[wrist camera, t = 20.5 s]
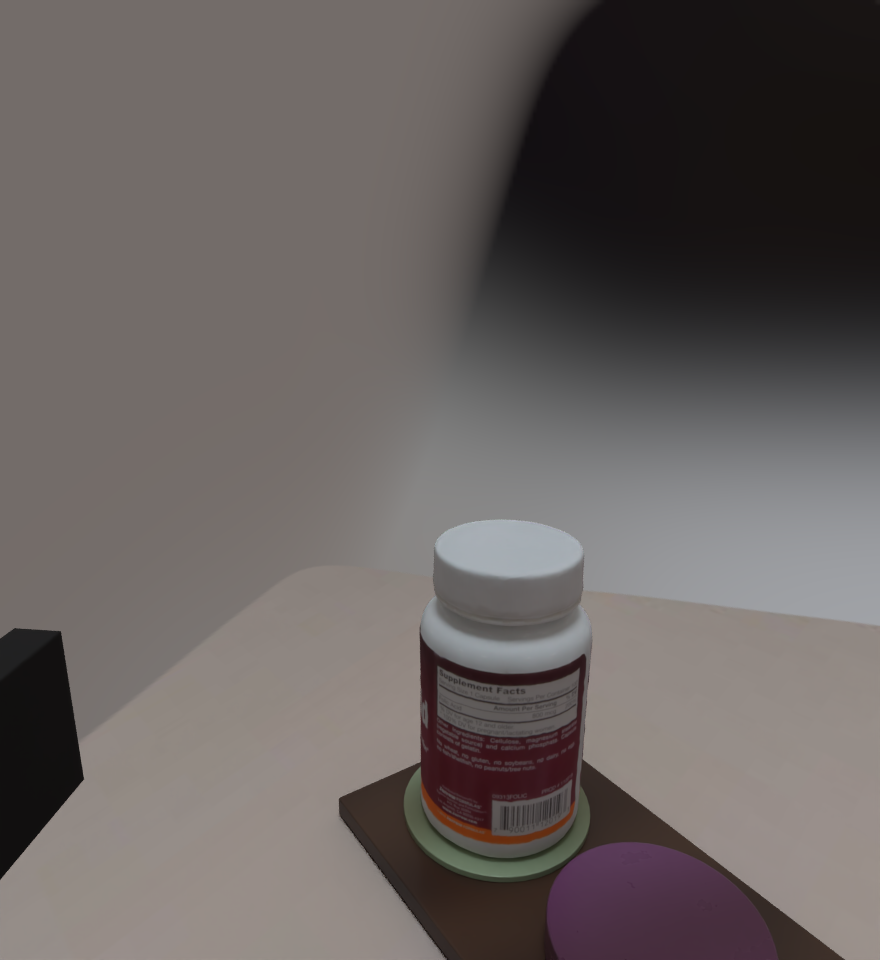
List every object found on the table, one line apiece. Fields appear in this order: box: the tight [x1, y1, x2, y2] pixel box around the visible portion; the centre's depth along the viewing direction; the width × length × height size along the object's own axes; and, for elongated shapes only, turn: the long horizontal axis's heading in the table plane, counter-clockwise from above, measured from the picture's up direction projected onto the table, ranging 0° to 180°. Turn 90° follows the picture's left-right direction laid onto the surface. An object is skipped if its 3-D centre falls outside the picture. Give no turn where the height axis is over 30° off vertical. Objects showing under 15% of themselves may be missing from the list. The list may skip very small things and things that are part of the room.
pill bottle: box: [420, 520, 592, 858], centre depth 20 cm, size 5×5×8 cm
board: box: [339, 759, 845, 960], centre depth 17 cm, size 18×8×2 cm, turn 34°
